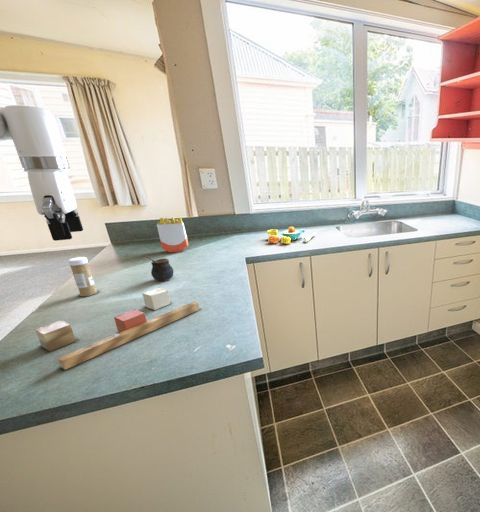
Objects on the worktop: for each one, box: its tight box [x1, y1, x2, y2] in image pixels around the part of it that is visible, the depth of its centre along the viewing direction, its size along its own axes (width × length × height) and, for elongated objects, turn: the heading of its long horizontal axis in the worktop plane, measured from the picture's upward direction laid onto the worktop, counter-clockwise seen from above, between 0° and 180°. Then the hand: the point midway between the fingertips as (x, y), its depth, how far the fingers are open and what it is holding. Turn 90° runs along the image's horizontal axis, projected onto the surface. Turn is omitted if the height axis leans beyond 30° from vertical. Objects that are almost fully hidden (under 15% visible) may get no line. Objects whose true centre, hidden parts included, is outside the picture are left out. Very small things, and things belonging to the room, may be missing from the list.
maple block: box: [34, 320, 77, 352], centre depth 77 cm, size 5×5×5 cm
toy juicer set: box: [266, 226, 317, 245], centre depth 176 cm, size 29×18×8 cm, turn 104°
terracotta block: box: [113, 309, 148, 333], centre depth 83 cm, size 5×5×5 cm
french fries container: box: [156, 216, 189, 253], centre depth 153 cm, size 5×11×18 cm, turn 114°
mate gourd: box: [146, 256, 174, 282], centre depth 117 cm, size 7×8×10 cm
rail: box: [57, 301, 200, 371], centre depth 82 cm, size 32×2×2 cm, turn 155°
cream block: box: [141, 287, 172, 311], centre depth 97 cm, size 5×5×5 cm
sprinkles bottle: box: [67, 256, 98, 297], centre depth 103 cm, size 5×5×13 cm
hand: (69, 235), depth 75 cm, fingers open, 9 cm apart
